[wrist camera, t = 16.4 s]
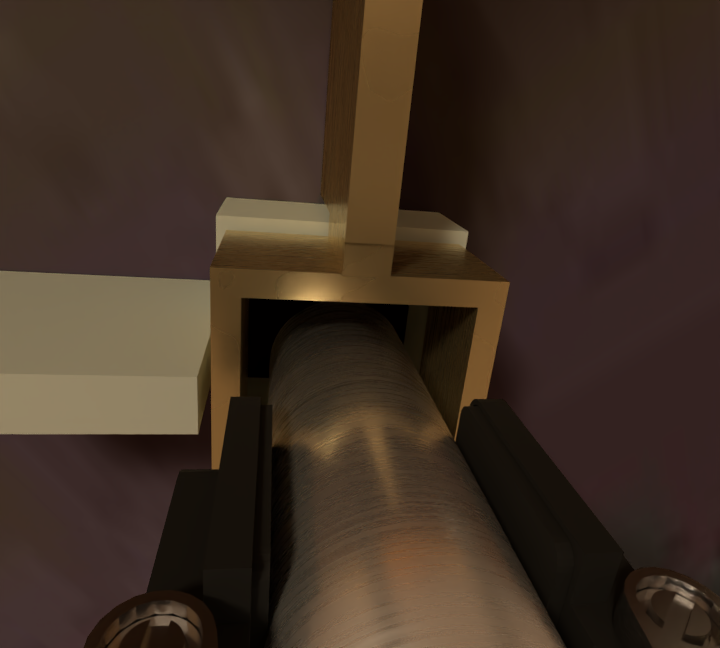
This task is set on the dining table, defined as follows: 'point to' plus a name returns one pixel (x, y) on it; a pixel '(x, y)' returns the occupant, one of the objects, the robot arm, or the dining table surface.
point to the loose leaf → (144, 335)
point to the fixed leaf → (362, 230)
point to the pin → (379, 504)
